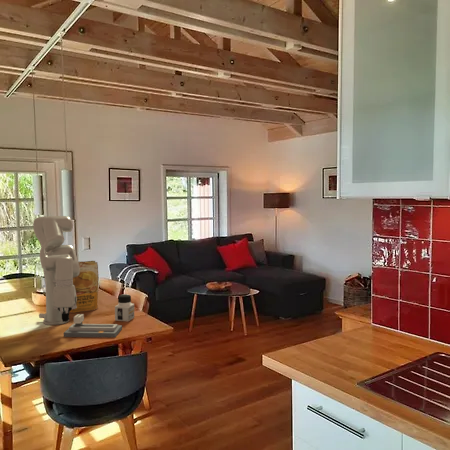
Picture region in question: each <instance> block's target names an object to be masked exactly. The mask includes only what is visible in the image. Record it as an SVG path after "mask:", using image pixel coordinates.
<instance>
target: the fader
mask: <svg viewBox="0 0 450 450" xmlns="http://www.w3.org/2000/svg"><path fill="white" fill-rule="evenodd" d="M84 319H85V314H84V313H78V314H76V315H74V316H73V324H75V327H82V324H83V322H84V321H85V320H84Z"/></svg>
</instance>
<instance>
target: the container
mask: <svg viewBox="0 0 450 450" xmlns="http://www.w3.org/2000/svg"><path fill="white" fill-rule="evenodd" d="M117 303H118V304H117V305H115V306H114V321H115V322H116V321H118V322H130V321H131V320H133V319H134V318H135V303H132V296H131V294H126V293H125V294H119V295H118V296H117Z"/></svg>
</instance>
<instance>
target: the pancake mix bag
mask: <svg viewBox="0 0 450 450" xmlns="http://www.w3.org/2000/svg"><path fill="white" fill-rule="evenodd" d="M78 263H79V267H80V273H79V275H78V276H77V277H75V278H73V285H74V286H75V290H76V297H77V304H76V306H77V308H76V309H72V310H71V311H70V312H69V314H70V313H73V314H76V313H85V312H91V311H96V310H97V309H99V306H98V300H99V286H100V285H99V283H100V282H99V279H100V278H99V264H98V262H97V261H96V260H87V261H86V260H85V261H78Z"/></svg>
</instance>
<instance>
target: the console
mask: <svg viewBox="0 0 450 450" xmlns="http://www.w3.org/2000/svg"><path fill="white" fill-rule="evenodd" d="M122 330H123V325H121V324H117V323H115V324H114V323H82V327H75V323H72V324H71V325H70V326H69V327H68V329H66V330H65V331H63V338H116V337H117V336H118V335H119V334H120V332H121V331H122Z"/></svg>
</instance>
